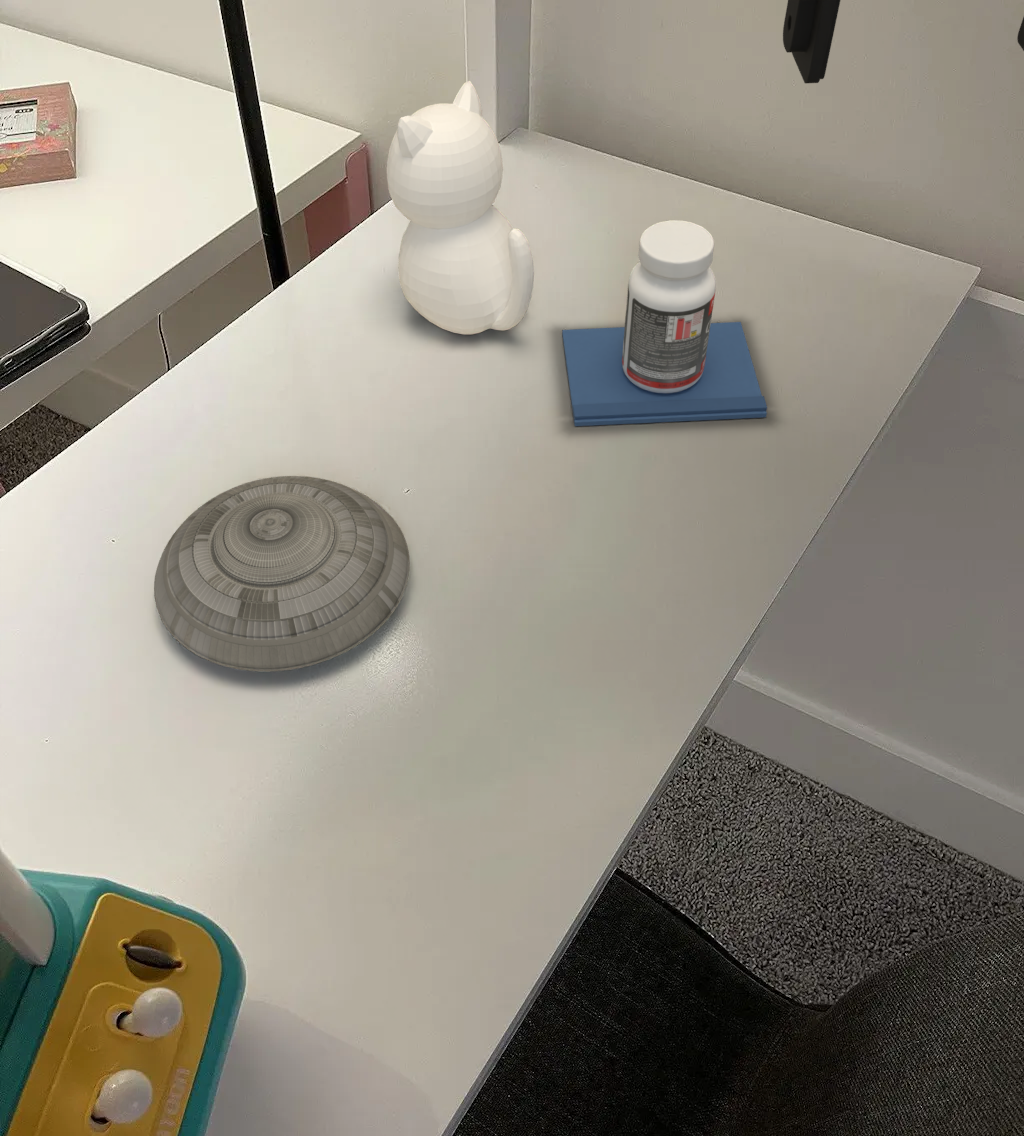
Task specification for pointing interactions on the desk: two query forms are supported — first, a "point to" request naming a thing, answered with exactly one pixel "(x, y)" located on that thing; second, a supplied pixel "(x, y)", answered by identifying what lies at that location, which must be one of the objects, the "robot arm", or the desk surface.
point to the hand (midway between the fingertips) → (920, 63)
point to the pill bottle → (669, 307)
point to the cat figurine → (457, 220)
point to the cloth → (617, 400)
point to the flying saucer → (281, 574)
